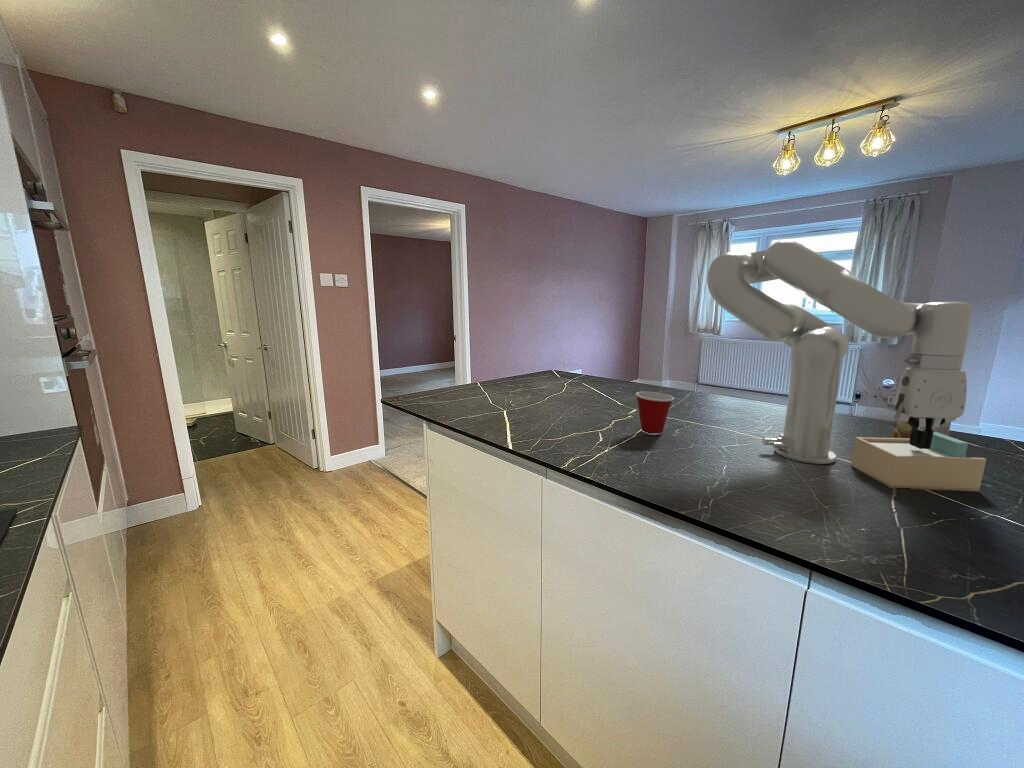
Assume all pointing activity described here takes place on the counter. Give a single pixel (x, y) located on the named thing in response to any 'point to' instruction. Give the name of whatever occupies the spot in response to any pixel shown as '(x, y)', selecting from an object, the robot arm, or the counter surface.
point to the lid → (939, 447)
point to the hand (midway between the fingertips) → (919, 446)
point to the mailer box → (916, 468)
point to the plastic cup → (653, 410)
